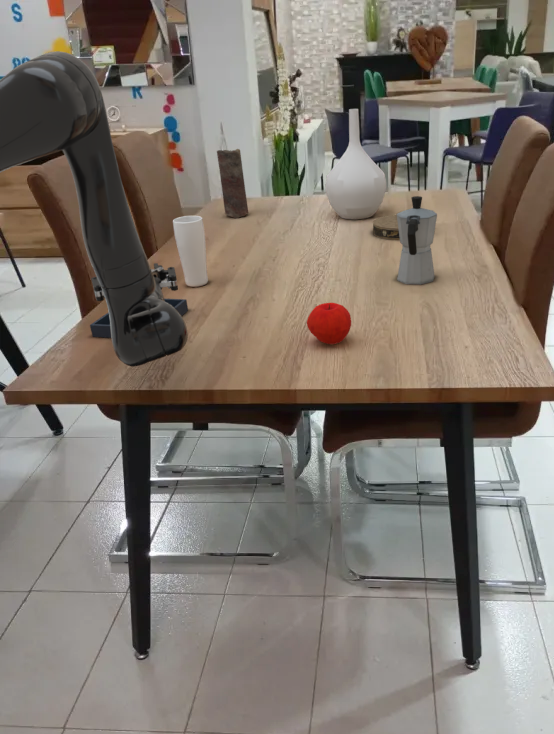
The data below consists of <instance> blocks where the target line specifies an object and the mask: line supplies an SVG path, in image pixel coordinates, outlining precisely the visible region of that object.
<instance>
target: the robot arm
mask: <svg viewBox="0 0 554 734" xmlns="http://www.w3.org/2000/svg"><path fill="white" fill-rule="evenodd" d="M107 114H108V113H107V109H106V104H105V100H104V96H103V93H102V90H101V86H100V84H99V82H98V79H97V77H96V75H95V74H94V72H93V71H92V70H91V68H90V67H89V65H87V63H85V62H84V61H83V60H82V59H80V58H79V57H77V56H75V55H73V54H71V53H68V52H66V51H60V50H58V51H49V52H46V53H43V54H40V55H39V56H36V57H34V58H31V59H29V60H27V61H25V62H23V63H20V64H19V65H17V66H15V67H14V68H13V69H12V70H10V71H9V72H8V73H7V74H5V75H4V76H3V77H1V79H0V173H3V172H4V171H7V170H9V169H12V168H14V167H16V166H17V167H18V166H21V165H22V164H25V163H28V162H31V161H33V160H37V159H40V158H43V157H46V156H49V155H52V154H55V153H58V152H61V151H62V153H63V154H64V156H65V158H66V161H67V164H68V166H69V169H70V172H71V175H72V179H73V183H74V188H75V192H76V198H77V204H78V211H79V212H78V213H79V220H80V228H81V229H80V230H81V235H82V239H83V244H84V248H85V250H86V254H87V256H88V259H89V262H90V265H91V267H92V269H93V271H94V274H95V276H93V277H91V278H90V279H91V285H92V287H93V288H92V289H93V294H94V296H95V299H96V302H102V301H104V300H105V303H106V307H107V313H108V312H109V318H110V328H111V338H110V339H111V346H112V349H113V352H114V354H115V356H116V358H117V359H118V361H120V362H121V363H122V364H124V365H126V366H128V367H132V368H135V367H140V366H143V365H146V364H149V363H151V362H155V361H158V360H161V359H164V358H167V357H170V356H172V355H176V354H178V353H179V352H181V351H182V350H183V349H184V348H185V347H186V345H187V343H188V338H189V332H188V327H187V324H186V322H185V320H184V318H183V315H182V316H181V315H180V314H179V312H178V311H177V310H176V309H175V308H174V307H173V306H172V305H170V304H169V303H167V302H165V300H164V298H165V296H164V293H163V288H167V290H170V291H171V292H176V291H179V285H178V279H177V273H176V268H175V267H174V266H169V267H167V268H166V269H165V268H164V267H163V265H162V264H158V262H155V263H153V269H152V268H151V265H150V263H149V260H148V257H147V255H146V253H145V249H144V247H143V244H142V241H141V238H140V235H139V234H138V231H137V228H136V225H135V221H134V218H133V215H132V213H131V209H130V206H129V203H128V199H127V196H126V192H125V189H124V185H123V181H122V177H121V172H120V169H119V165H118V159H117V156H116V152H115V148H114V144H113V139H112V135H111V134H112V133H111V130H110V124H109V120H108V119H109V118H108V115H107Z"/></svg>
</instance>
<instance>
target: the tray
mask: <svg viewBox="0 0 554 734" xmlns="http://www.w3.org/2000/svg"><path fill="white" fill-rule="evenodd" d="M164 300H165V302H167V303H169V304H170V305H172V306H173V307H174V308H175V309H176V310H177V311H178V312H179V314H180V315H181V316H182V317H183V316H184V315H185V314H186V313H187V312H189V306H188V300H187V299H186V298H184V299H182V298H165V297H164ZM89 328H90V331H91V336H92V337H93V338H105V339H106V338H108V339H111V328H110V318H109V312H108V311H107V313H105V314H104V315H102V316H100V317H99V318H98V319H96V320H95V321H94V322H91V324H89Z"/></svg>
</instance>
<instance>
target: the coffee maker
mask: <svg viewBox="0 0 554 734" xmlns="http://www.w3.org/2000/svg"><path fill="white" fill-rule="evenodd" d="M410 199H411V204H412V207H410V208H408V209H405V210H402V211H399V212H397V213H395V215H397V221H398V229H399V237H400V240H399V243H400V244H401V245H402V249H401V251H400V258H399V265H398V272H397V276H396V277H397V278H396V281H397V282H400V283H402V284H405V285H420V286H421V285H425V284H428V283H429V284H430V283H433V282H434V280H435V268H434V261H433V252H432V248H431V245H432V244H433V243H434V238H435V231H436V224H437V220H438V219H437V218H438V213H437V212H435V211H434V210H433V209H428V208H423V207H422V201H423V197H422V196H421V195H420V196H419V195H416V196H411V198H410Z"/></svg>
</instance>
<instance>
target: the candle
mask: <svg viewBox="0 0 554 734" xmlns="http://www.w3.org/2000/svg"><path fill="white" fill-rule="evenodd" d="M216 156H217V162H218V170H219V176H220V185H221V192H222V199H223V206H224V214H225V215H226V216H227V217H231V218H233V219H239V218H241V217H245V216H246V215H248V214H249V207H248V206H249V205H248V200H247V194H246V185H245V178H244V169H243V161H242V153H241V150H240V148H236V149H234V150H228V149H223V150H222V149H219V150H216Z"/></svg>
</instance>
